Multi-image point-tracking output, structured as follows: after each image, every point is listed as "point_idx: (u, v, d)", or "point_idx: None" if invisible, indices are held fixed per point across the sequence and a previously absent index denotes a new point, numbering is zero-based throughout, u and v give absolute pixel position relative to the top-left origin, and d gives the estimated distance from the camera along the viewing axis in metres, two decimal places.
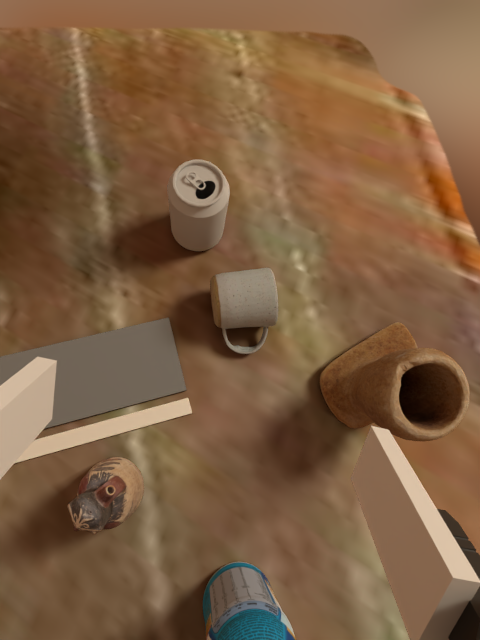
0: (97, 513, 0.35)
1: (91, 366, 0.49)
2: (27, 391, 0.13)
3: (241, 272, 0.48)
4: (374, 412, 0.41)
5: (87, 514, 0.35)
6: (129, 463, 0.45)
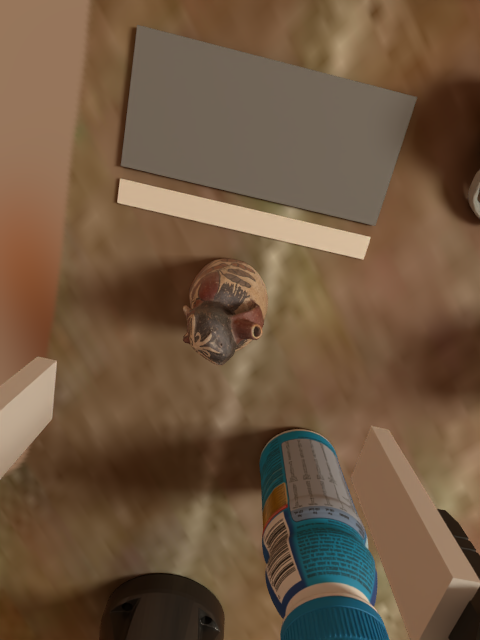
0: (228, 350, 0.24)
1: (269, 118, 0.30)
2: (26, 391, 0.13)
3: None
4: None
5: (216, 345, 0.24)
6: (262, 282, 0.33)
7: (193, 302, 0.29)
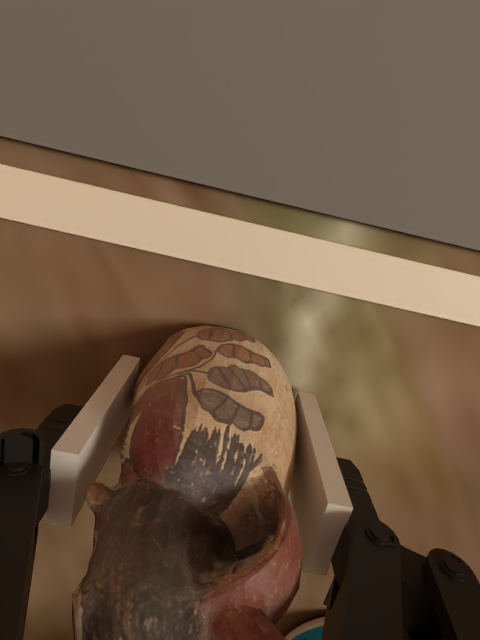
0: None
1: (308, 14, 0.13)
2: (125, 385, 0.15)
3: None
4: None
5: None
6: (285, 384, 0.15)
7: (121, 460, 0.12)
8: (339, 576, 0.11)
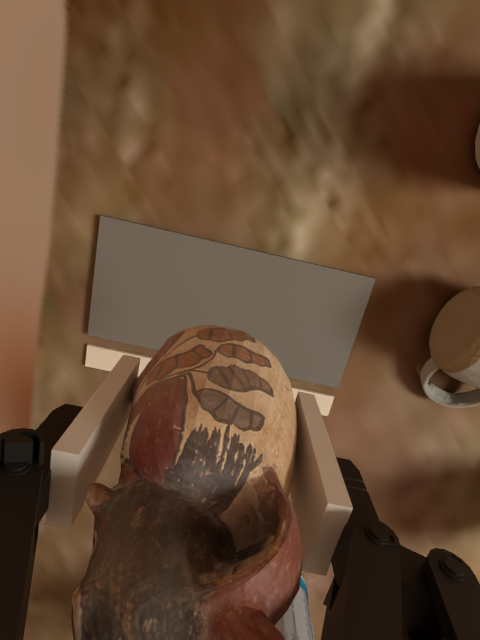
0: None
1: (231, 296, 0.31)
2: (125, 385, 0.15)
3: None
4: None
5: None
6: (285, 384, 0.15)
7: (121, 461, 0.12)
8: (339, 576, 0.11)
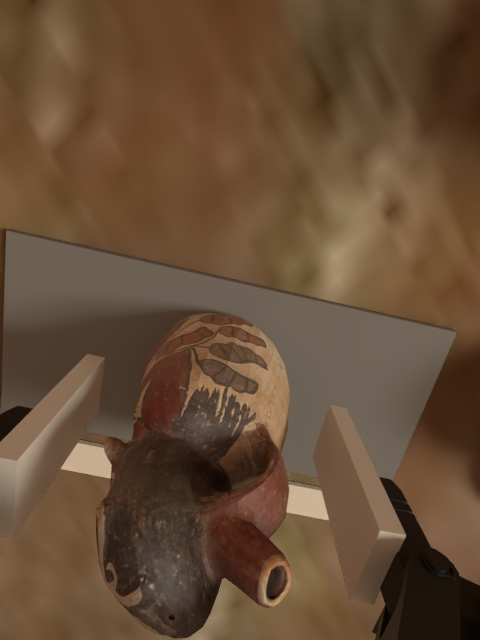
0: (193, 624, 0.08)
1: None
2: (84, 385, 0.14)
3: None
4: None
5: (156, 617, 0.08)
6: (279, 363, 0.17)
7: (134, 422, 0.14)
8: (391, 604, 0.10)
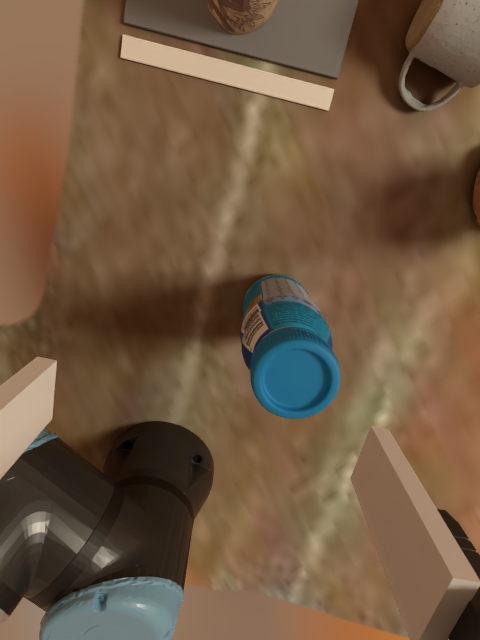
0: None
1: None
2: (27, 391, 0.13)
3: None
4: None
5: None
6: None
7: None
8: None
